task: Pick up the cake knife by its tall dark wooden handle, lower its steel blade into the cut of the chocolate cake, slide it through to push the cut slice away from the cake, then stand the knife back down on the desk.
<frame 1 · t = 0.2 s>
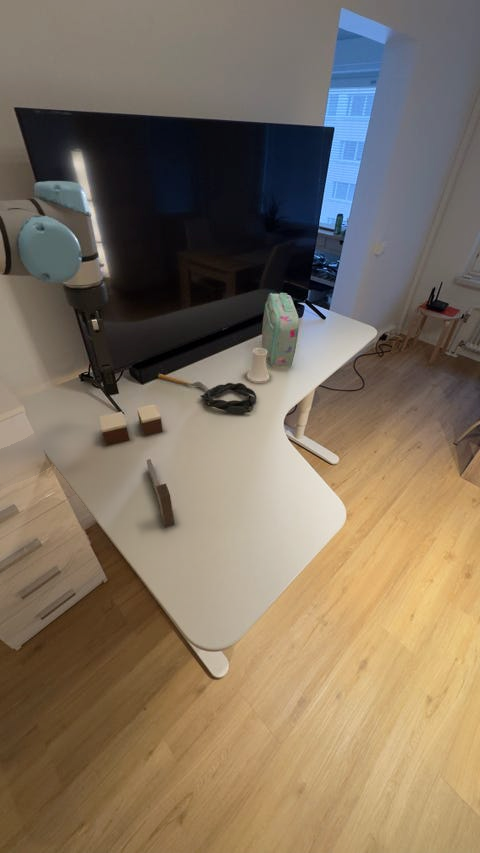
hand: (107, 378, 78), 20 cm above the table, tool pointing down, fingers open, 13 cm apart
lunch box: (275, 354, 131), on the table
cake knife: (168, 520, 73), on the table
cake: (116, 436, 93), on the table
cake slice: (151, 427, 96), on the table
cable: (228, 401, 107), on the table
vase: (257, 378, 118), on the table
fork: (183, 385, 113), on the table
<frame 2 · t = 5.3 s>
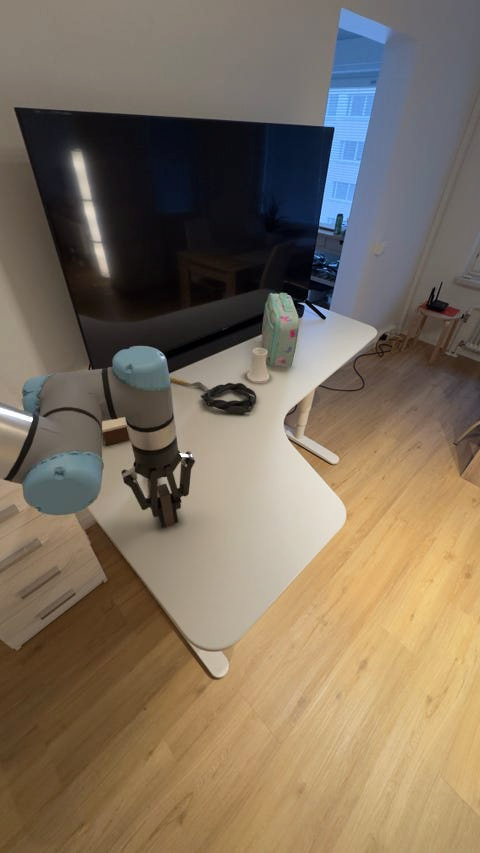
hand: (168, 519, 73), 0 cm above the table, tool pointing down, fingers closed on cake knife, 2 cm apart
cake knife: (168, 520, 73), on the table, touching gripper
everything else where it was.
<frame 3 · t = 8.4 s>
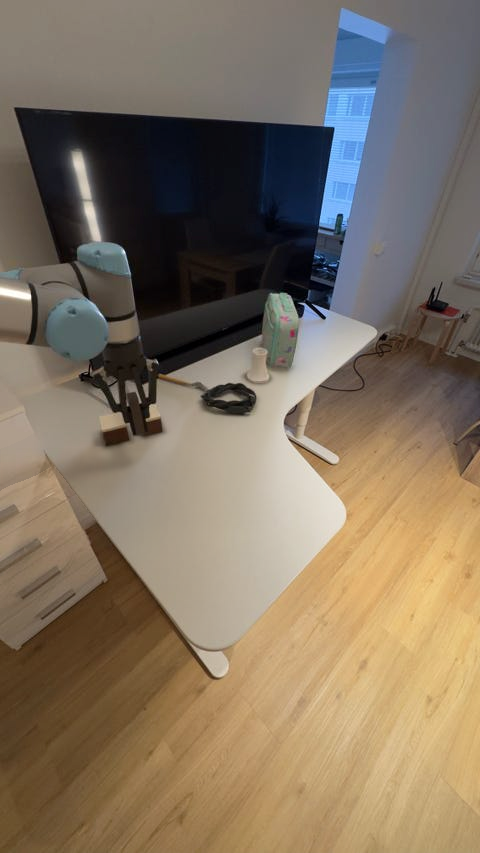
hand: (139, 430, 80), 10 cm above the table, tool pointing down, fingers closed on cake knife, 2 cm apart
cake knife: (139, 431, 80), point 10 cm above the table, touching gripper
everything else where it was.
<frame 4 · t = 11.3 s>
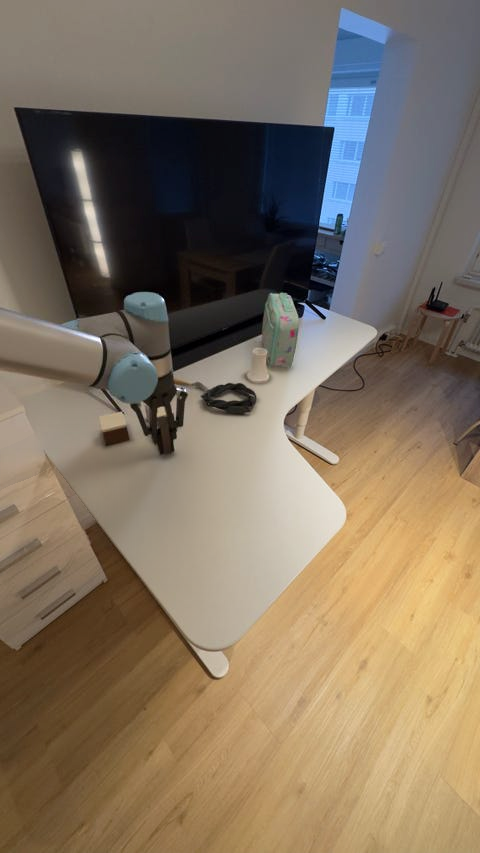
hand: (166, 449, 88), 1 cm above the table, tool pointing down, fingers closed on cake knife, 2 cm apart
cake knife: (166, 450, 88), point 1 cm above the table, touching cake slice, gripper
cake slice: (163, 424, 97), on the table, touching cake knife
everything else where it was.
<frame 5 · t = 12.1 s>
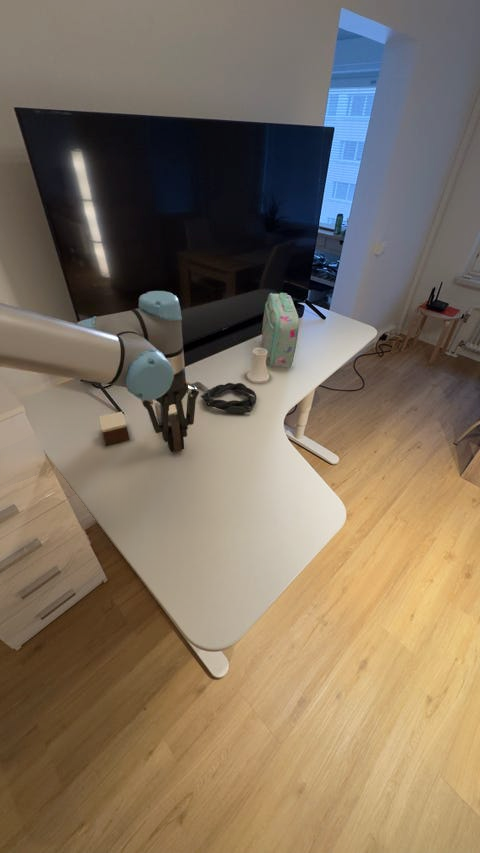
hand: (176, 447, 89), 1 cm above the table, tool pointing down, fingers closed on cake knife, 2 cm apart
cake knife: (176, 447, 89), point 1 cm above the table, touching cake slice, gripper
cake slice: (172, 421, 98), on the table, touching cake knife
everything else where it was.
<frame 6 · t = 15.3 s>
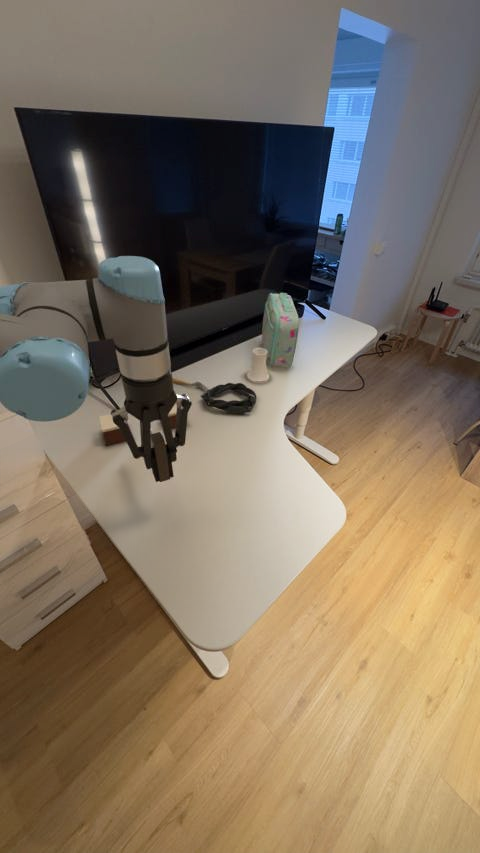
hand: (163, 474, 67), 12 cm above the table, tool pointing down, fingers closed on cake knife, 2 cm apart
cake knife: (163, 475, 67), point 11 cm above the table, touching gripper
cake slice: (174, 421, 98), on the table
everything else where it was.
when the fingers open (0 cm above the table, at t = 18.1 s): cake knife stays where it is, on the table.
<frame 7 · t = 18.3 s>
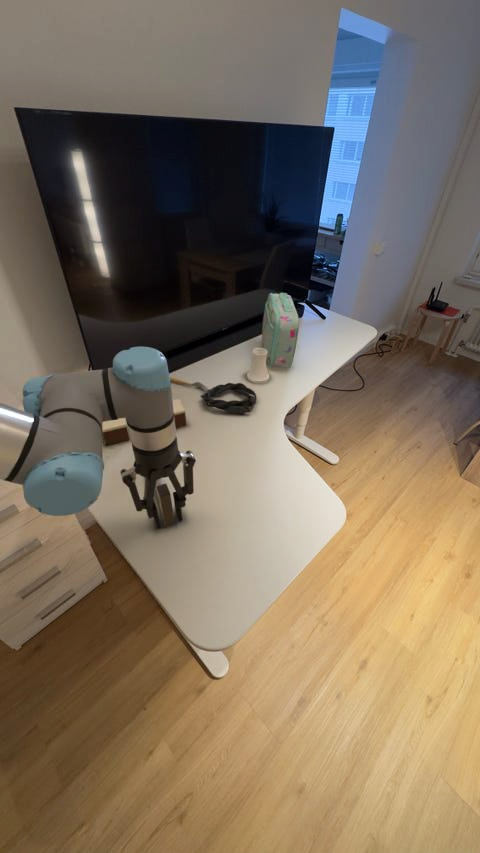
hand: (168, 519, 73), 0 cm above the table, tool pointing down, fingers open, 4 cm apart
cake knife: (168, 520, 73), on the table
everything else where it was.
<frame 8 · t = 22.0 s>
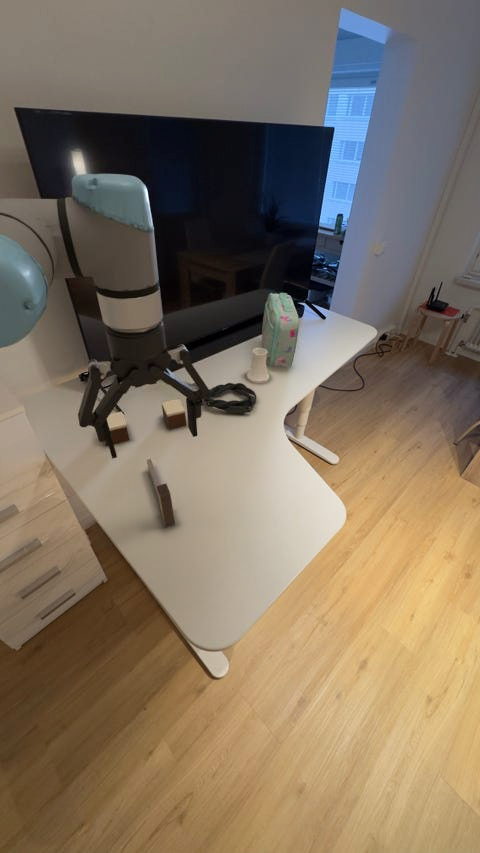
hand: (154, 442, 58), 23 cm above the table, tool pointing down, fingers open, 13 cm apart
nothing on the table moved.
at the end: cake slice inside the target area on the table beside the cake (2.2 cm from its centre), on the table; cake slice tilted 0°; the gripper is holding nothing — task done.
